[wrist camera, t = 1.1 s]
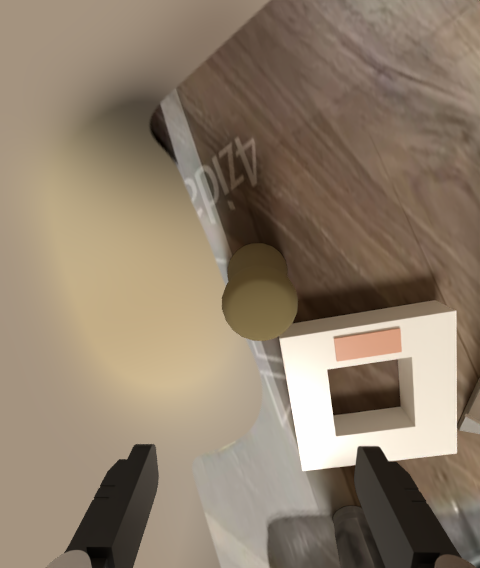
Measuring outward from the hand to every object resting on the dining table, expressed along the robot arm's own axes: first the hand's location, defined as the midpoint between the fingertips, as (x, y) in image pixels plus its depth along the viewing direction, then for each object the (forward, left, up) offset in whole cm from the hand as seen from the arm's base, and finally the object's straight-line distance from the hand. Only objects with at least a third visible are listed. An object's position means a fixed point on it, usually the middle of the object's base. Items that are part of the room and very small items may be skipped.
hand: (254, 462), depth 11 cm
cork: (-1, -3, -19) cm, 19 cm away
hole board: (-10, +11, -19) cm, 24 cm away
